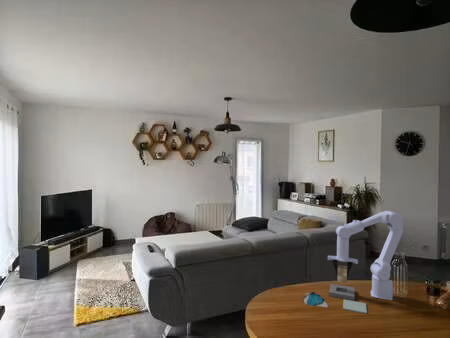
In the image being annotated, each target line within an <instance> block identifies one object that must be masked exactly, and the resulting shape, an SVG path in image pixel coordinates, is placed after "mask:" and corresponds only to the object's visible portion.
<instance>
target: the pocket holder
mask: <svg viewBox="0 0 450 338" xmlns="http://www.w3.org/2000/svg"><path fill="white" fill-rule="evenodd" d="M328 297H333V298H336V299H337V298H339V299H344V300H350V301H355V287H353V286H346V285H342V284H341V285H340V284H335V283H330V284H329V291H328Z"/></svg>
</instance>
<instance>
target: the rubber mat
mask: <svg viewBox="0 0 450 338" xmlns="http://www.w3.org/2000/svg"><path fill="white" fill-rule="evenodd" d="M342 301H343V303H342V309H343V310H345V311H352V312H355V313H361V314H366V315H367V314H368V310H367V303H365V302H361V301H355V300H354V301H353V300H348V299H343V300H342Z"/></svg>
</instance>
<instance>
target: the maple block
mask: <svg viewBox="0 0 450 338" xmlns="http://www.w3.org/2000/svg"><path fill="white" fill-rule="evenodd" d="M336 278H337V280H336V281H337V282H340V283H346V284H347V283H348V281H347V280H348V279H347V278H348V277H347V265H346V266H345V265H339V264H338V275H337V277H336Z"/></svg>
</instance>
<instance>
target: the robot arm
mask: <svg viewBox="0 0 450 338" xmlns="http://www.w3.org/2000/svg"><path fill="white" fill-rule="evenodd" d="M403 222H404V218H402V216H401V215H400V214H399V213H398V212H395V211H394V212H393V211H391V210H383V211H380V212H378V213H376V214H374V215H372V216H370V217H368V218H365V219H363V220H358V219H353V220H352V222H349V223H345V224H343V225H339V226H337V227H336V229H335V234H336V235H337V237H336V238H337V239H336V255H327V261H332V265H333V267H334V271H335V274H336V276H338V265H339V262H343V263H347V265H346V266H347V278H348V277H349V275H350V274H349V273H350V272H351V269H352V268H353V264H356V265H358V264H359V260H358V259H357V258H352V257H349V251H350V249H349V248H350V247H349V246H350V245H349V243H350V241H349V239H350V237H351V236H352V235H355V234H357V233H361V232H362V231H364V229H365V228H366V227H369V226H372V225H375V224H378V223H383V224H386V225H387V227H388V229H389V233H388V235H387V238H386V240H385V241H384V245H383V248H382V250H381V251H380V252H381V253H380V254H379V257H378V258H377V259H375V260H374V262H373V263H372V264H371V265H370V272H371V273H372V275H371V290H370V297H372V298H377V299H381V300H388V301H393V300H394V299H393V293H394V292H393V280H392V279H390V277H391V270H392V267H391V261H392V259H393V257H394V254H395V251H396V249H397V247H398V245H399V242H400V240H401V238H402V235H403V233H404V227H403V226H404V225H403Z"/></svg>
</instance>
